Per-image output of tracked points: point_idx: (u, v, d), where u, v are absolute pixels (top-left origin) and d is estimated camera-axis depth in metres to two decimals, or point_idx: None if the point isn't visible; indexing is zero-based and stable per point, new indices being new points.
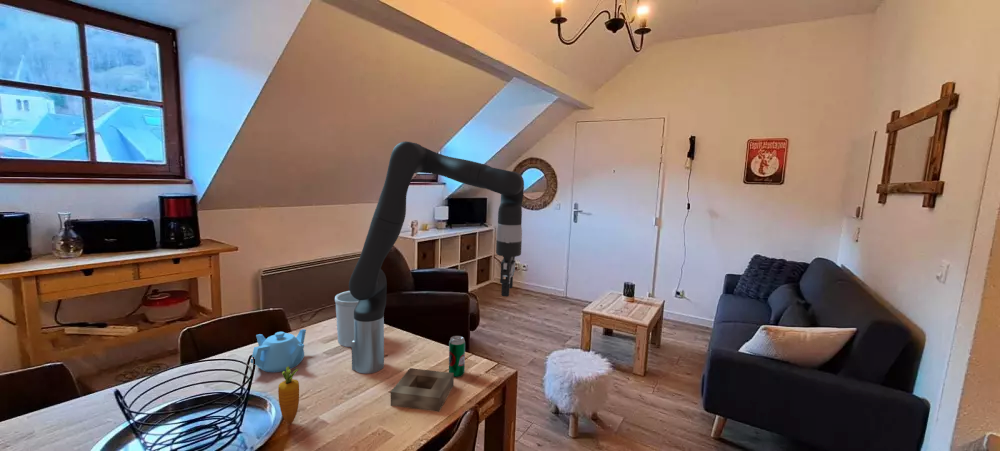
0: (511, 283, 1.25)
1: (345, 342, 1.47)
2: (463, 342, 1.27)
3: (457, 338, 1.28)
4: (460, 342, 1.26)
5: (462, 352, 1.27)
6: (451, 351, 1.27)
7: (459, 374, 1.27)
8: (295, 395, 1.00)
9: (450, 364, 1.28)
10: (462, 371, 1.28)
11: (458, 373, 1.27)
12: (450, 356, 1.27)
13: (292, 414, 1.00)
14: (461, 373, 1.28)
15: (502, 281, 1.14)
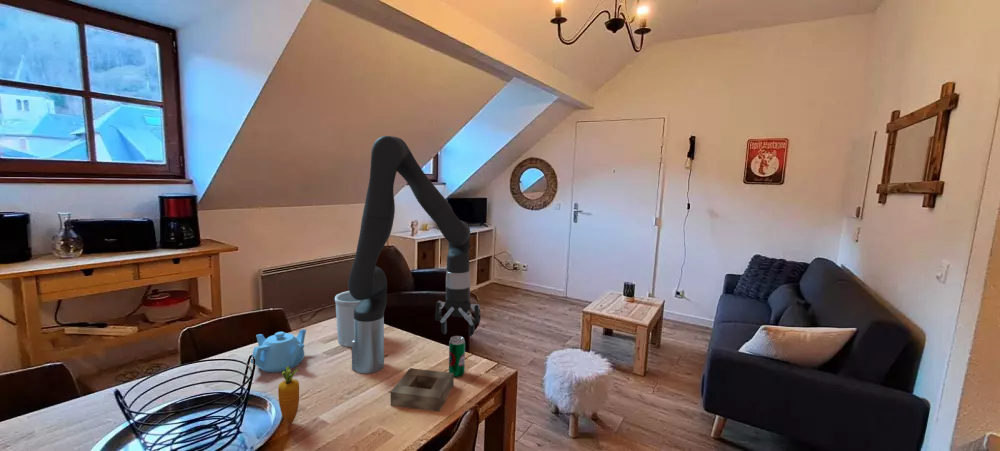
0: (446, 327, 1.29)
1: (345, 342, 1.47)
2: (463, 342, 1.27)
3: (457, 338, 1.28)
4: (460, 342, 1.26)
5: (462, 352, 1.27)
6: (451, 351, 1.27)
7: (459, 374, 1.27)
8: (295, 395, 1.00)
9: (450, 364, 1.28)
10: (462, 371, 1.28)
11: (458, 373, 1.27)
12: (450, 356, 1.27)
13: (292, 414, 1.00)
14: (461, 373, 1.28)
15: (479, 321, 1.25)
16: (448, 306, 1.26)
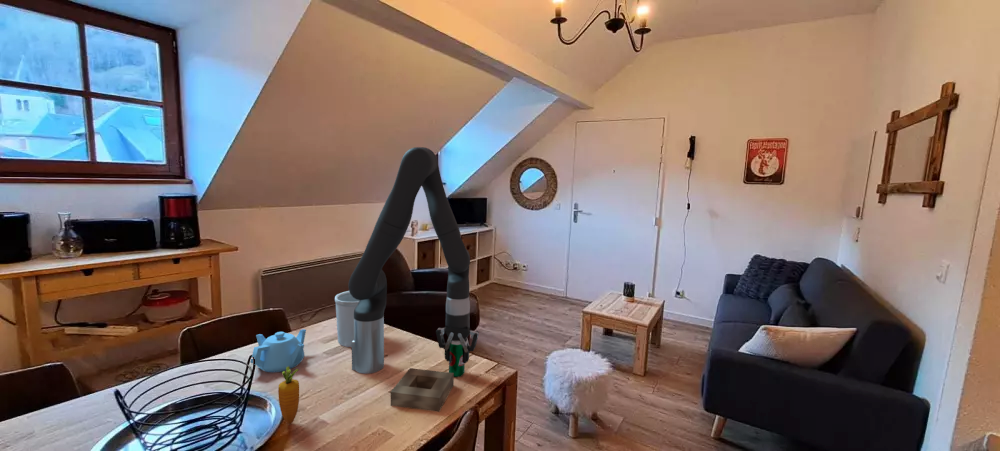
0: None
1: (345, 342, 1.47)
2: None
3: None
4: (460, 342, 1.26)
5: (462, 352, 1.27)
6: (451, 351, 1.27)
7: (459, 374, 1.27)
8: (295, 395, 1.00)
9: (450, 364, 1.28)
10: (462, 371, 1.28)
11: (458, 373, 1.27)
12: (450, 356, 1.27)
13: (292, 414, 1.00)
14: (461, 373, 1.28)
15: (473, 348, 1.27)
16: (448, 331, 1.27)
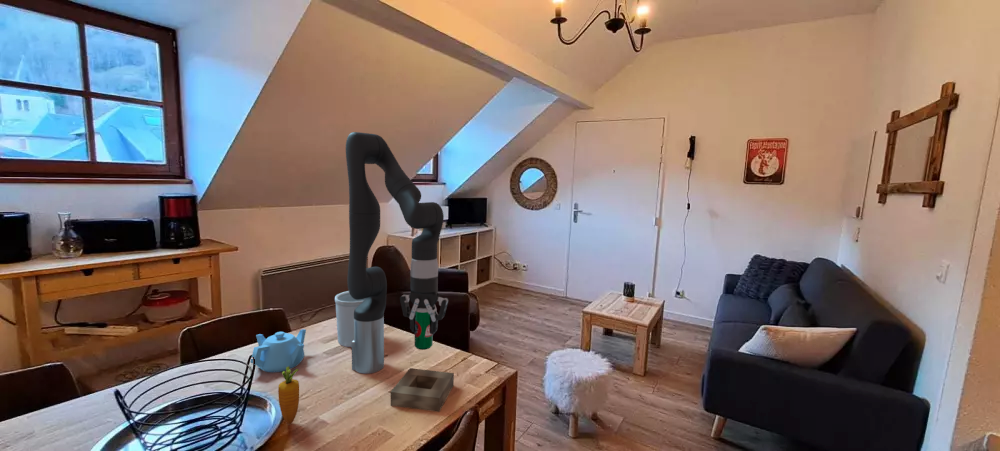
0: None
1: (345, 342, 1.47)
2: None
3: None
4: (427, 310, 1.12)
5: (430, 321, 1.13)
6: (416, 320, 1.12)
7: (426, 346, 1.13)
8: (295, 395, 1.00)
9: (416, 335, 1.13)
10: (429, 343, 1.13)
11: (424, 345, 1.13)
12: (415, 326, 1.13)
13: (292, 414, 1.00)
14: (428, 345, 1.13)
15: None
16: (413, 297, 1.13)
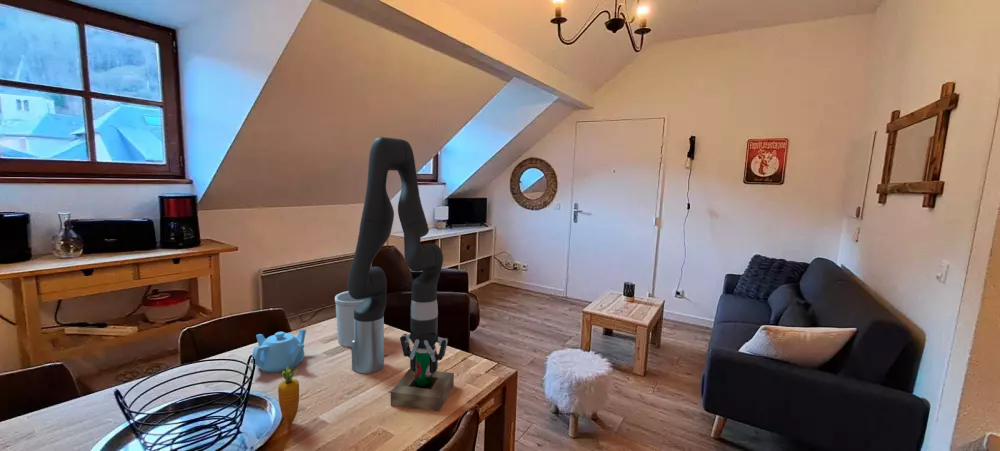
0: None
1: (345, 342, 1.47)
2: None
3: None
4: None
5: (430, 361, 1.14)
6: (417, 360, 1.14)
7: (426, 386, 1.14)
8: (295, 395, 1.00)
9: (416, 375, 1.14)
10: (429, 382, 1.15)
11: (424, 385, 1.14)
12: (416, 366, 1.14)
13: (292, 414, 1.00)
14: (428, 385, 1.15)
15: None
16: (413, 337, 1.14)
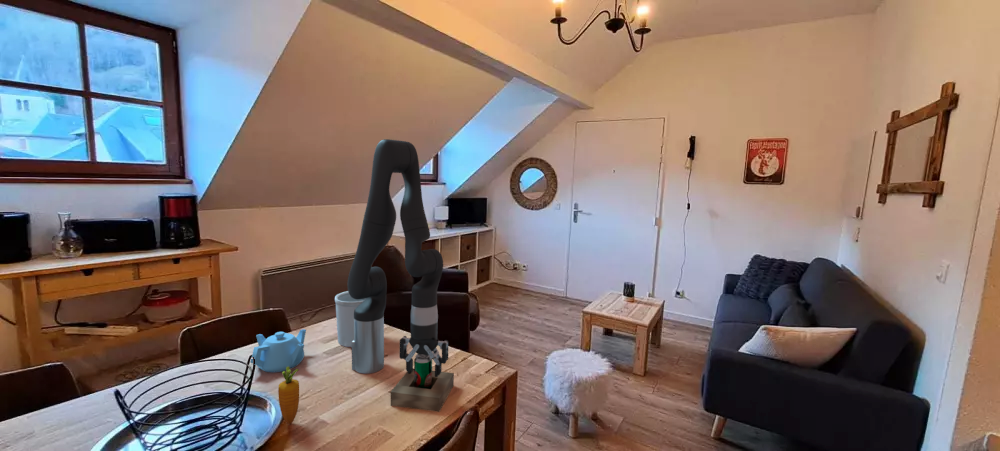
0: (412, 366, 1.17)
1: (345, 342, 1.47)
2: (429, 360, 1.15)
3: (423, 355, 1.16)
4: (426, 360, 1.14)
5: (429, 371, 1.14)
6: (416, 370, 1.14)
7: None
8: (295, 395, 1.00)
9: (415, 384, 1.15)
10: None
11: None
12: (415, 375, 1.15)
13: (292, 414, 1.00)
14: None
15: (446, 360, 1.14)
16: (413, 343, 1.14)
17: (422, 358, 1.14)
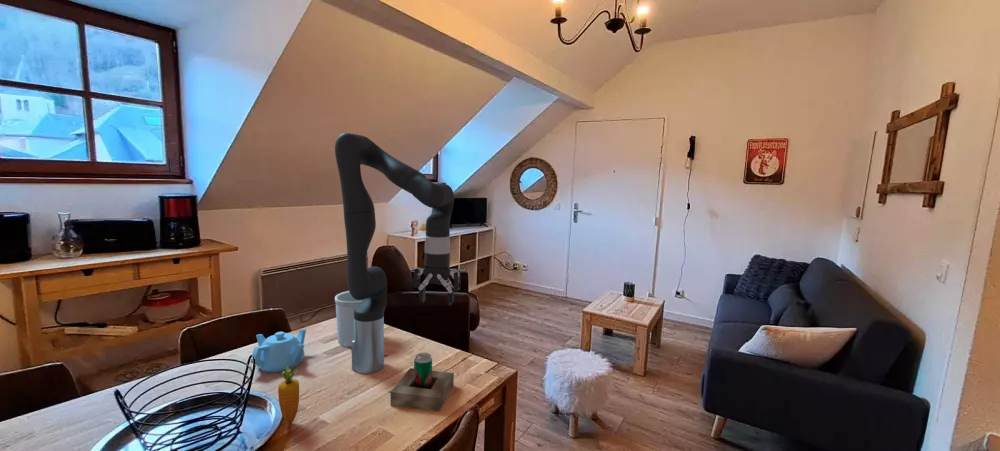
0: (425, 295, 1.24)
1: (345, 342, 1.47)
2: (430, 360, 1.15)
3: (423, 355, 1.16)
4: (426, 360, 1.14)
5: (429, 371, 1.14)
6: (416, 370, 1.14)
7: None
8: (295, 395, 1.00)
9: (415, 384, 1.15)
10: None
11: None
12: (415, 375, 1.15)
13: (292, 414, 1.00)
14: None
15: (458, 289, 1.20)
16: (427, 273, 1.21)
17: (422, 358, 1.14)
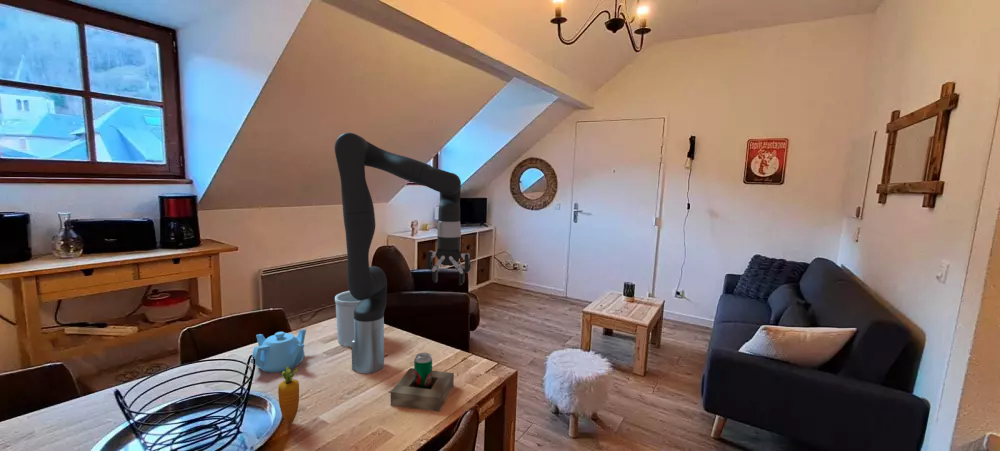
0: (437, 276, 1.34)
1: (345, 342, 1.47)
2: (430, 360, 1.15)
3: (423, 355, 1.16)
4: (426, 360, 1.14)
5: (429, 371, 1.14)
6: (416, 370, 1.14)
7: None
8: (295, 395, 1.00)
9: (415, 384, 1.15)
10: None
11: None
12: (415, 375, 1.15)
13: (292, 414, 1.00)
14: None
15: (468, 270, 1.30)
16: (439, 255, 1.31)
17: (422, 358, 1.14)
